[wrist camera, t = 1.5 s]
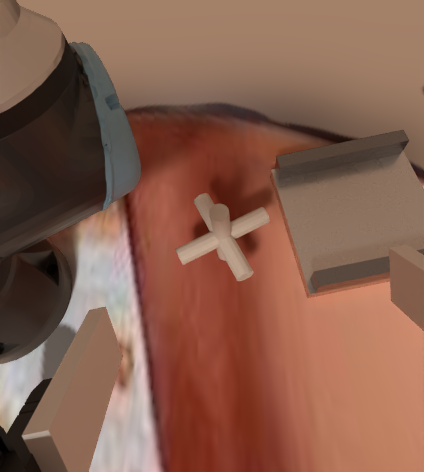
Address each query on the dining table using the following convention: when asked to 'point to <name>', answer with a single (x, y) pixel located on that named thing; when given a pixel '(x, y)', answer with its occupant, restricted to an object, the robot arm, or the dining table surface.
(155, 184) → the dining table surface
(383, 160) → the cradle plate
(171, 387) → the dining table surface
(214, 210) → the pipe connector
